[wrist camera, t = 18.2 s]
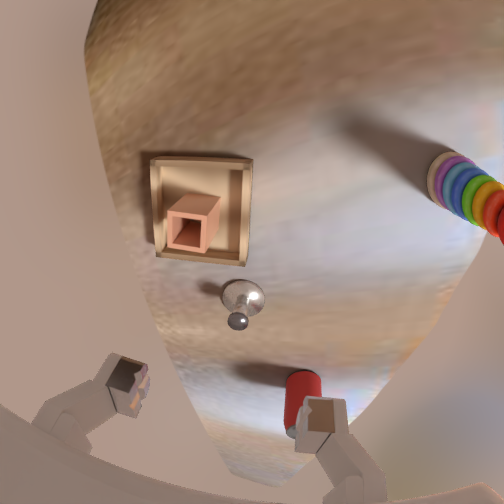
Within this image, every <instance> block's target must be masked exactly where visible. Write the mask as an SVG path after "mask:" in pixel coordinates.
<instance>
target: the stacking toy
mask: <svg viewBox="0 0 504 504" xmlns="http://www.w3.org/2000/svg"><path fill="white" fill-rule="evenodd" d="M427 188H428V192H429V194H430V196H431V198H432V200H433V201H434V202H435V203H436V204H437V205H438V206H440V207H441V208H444V209H447V210H449V211H451V212H452V213H453V214H455V215H456V216H459V217H461V218H462V219H464V220H466V221H469V222H470V223H472V224H474V225H476V226H480V227H481V228H483V229H485V230H487V231H488V232H489V233H490V234H491V235H493V236H495V237H500V240H501V242H502V243H503V244H504V185H503V184H501V183H500V182H497V181H496V180H495V179H494V178H492V177H491V176H489V175H488V174H487V173H486V172H485V171H483V170H481V169H480V168H479V167H478V166H476V165H475V163H474V162H473V161H471V160H470V159H468V158H466V157H465V156H463V155H462V154H459V153H457V152H446V153H443V154H441V155H440V156H438V157H437V158H436V159H435V160H434V161H433V163H432V164H431V166H430V168H429V171H428V175H427Z"/></svg>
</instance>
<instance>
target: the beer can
mask: <svg viewBox="0 0 504 504" xmlns="http://www.w3.org/2000/svg"><path fill="white" fill-rule="evenodd" d="M306 396H315V397H322V393H321V379H320V377H319V376H318V375H317V374H315V373H313V372H310V371H299V372H296V373H294V374H292V375H290V376H289V378H288V379H287V381H286V394H285V409H284V426H285V429H286V434H287V435H288V436H289V437H290V438H292V439H295V438H296V436H297V434H298V431H297V430H296V419H297V415H298V411H299V409H300V407H302V406H303V400H304V398H305V397H306Z"/></svg>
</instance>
